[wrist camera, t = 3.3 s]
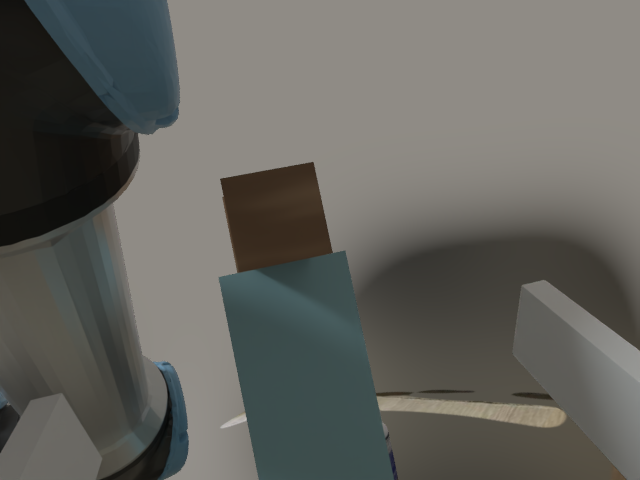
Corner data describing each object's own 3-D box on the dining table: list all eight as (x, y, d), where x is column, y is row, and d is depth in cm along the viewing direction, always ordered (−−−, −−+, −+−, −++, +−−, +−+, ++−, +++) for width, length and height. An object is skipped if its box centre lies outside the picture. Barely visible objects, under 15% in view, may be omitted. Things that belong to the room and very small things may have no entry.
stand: (299, 597, 35) (234, 274, 37) (393, 568, 37) (327, 254, 38) (308, 727, 26) (218, 277, 27) (436, 681, 27) (345, 250, 28)
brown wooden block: (245, 271, 37) (232, 209, 37) (317, 256, 38) (304, 195, 38) (202, 280, 16) (174, 138, 16) (366, 245, 17) (337, 111, 17)
